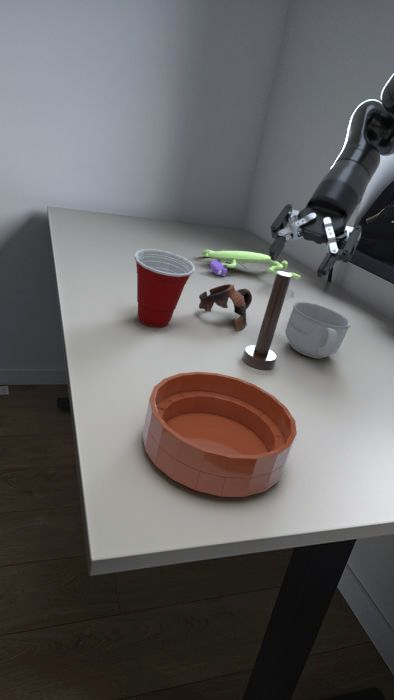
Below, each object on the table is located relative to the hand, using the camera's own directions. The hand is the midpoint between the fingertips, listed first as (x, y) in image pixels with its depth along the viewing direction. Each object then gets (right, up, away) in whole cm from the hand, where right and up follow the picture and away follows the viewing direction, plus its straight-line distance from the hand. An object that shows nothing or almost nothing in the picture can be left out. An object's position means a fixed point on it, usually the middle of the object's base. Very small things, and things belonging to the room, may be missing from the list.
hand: (295, 266), depth 81 cm
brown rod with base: (-6, -16, +4) cm, 17 cm away
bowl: (-14, -26, -21) cm, 36 cm away
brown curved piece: (-10, -8, +19) cm, 23 cm away
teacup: (+5, -15, +12) cm, 19 cm away
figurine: (-2, +6, +52) cm, 52 cm away
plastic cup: (-24, -9, +10) cm, 28 cm away
